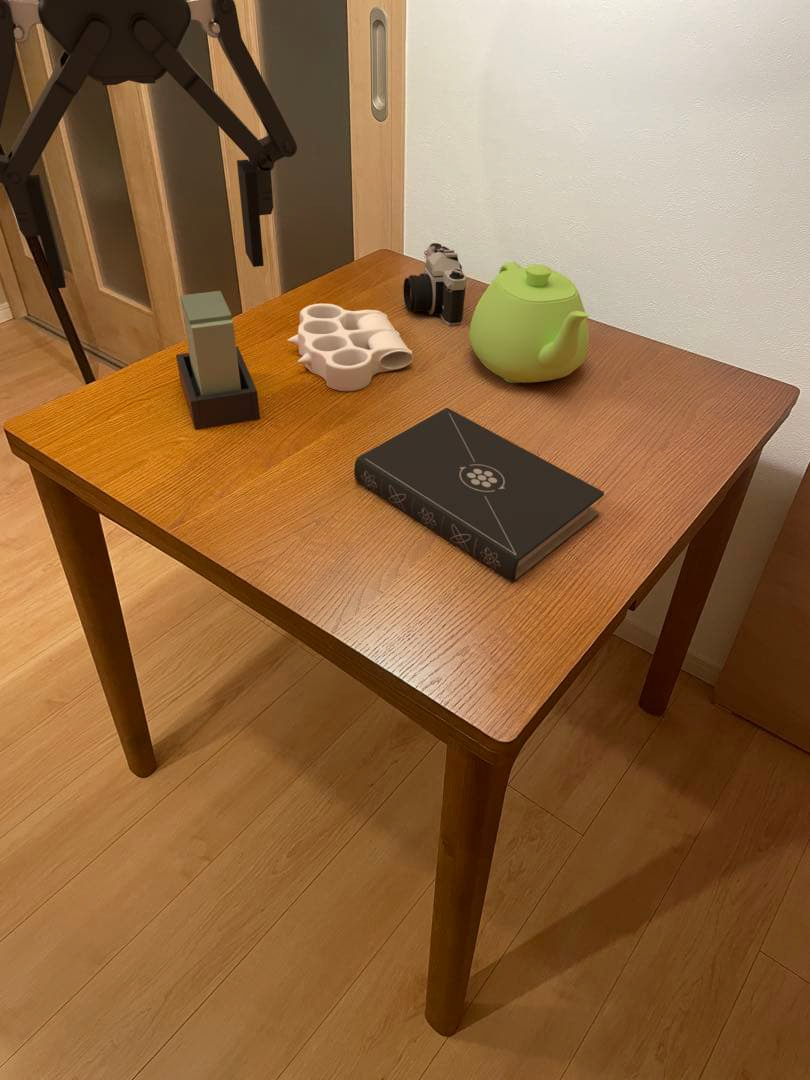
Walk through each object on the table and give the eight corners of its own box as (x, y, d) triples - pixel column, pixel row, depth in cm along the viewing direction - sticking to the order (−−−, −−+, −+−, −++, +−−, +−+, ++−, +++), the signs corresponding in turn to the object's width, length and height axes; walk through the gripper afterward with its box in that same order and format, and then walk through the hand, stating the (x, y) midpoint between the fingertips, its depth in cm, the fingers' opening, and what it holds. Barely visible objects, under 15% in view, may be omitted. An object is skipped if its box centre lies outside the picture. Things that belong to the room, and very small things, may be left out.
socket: (195, 429, 92) (190, 401, 90) (180, 381, 100) (175, 354, 97) (260, 418, 94) (257, 390, 92) (240, 372, 102) (237, 345, 99)
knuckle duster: (420, 381, 102) (308, 398, 98) (378, 318, 114) (277, 330, 111) (422, 358, 100) (307, 373, 96) (378, 296, 112) (276, 308, 108)
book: (353, 481, 86) (353, 459, 84) (445, 428, 94) (446, 406, 92) (511, 584, 75) (515, 561, 73) (599, 514, 83) (605, 492, 81)
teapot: (619, 403, 100) (644, 304, 91) (510, 420, 96) (525, 319, 87) (542, 323, 115) (557, 232, 106) (445, 335, 111) (452, 242, 102)
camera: (392, 290, 121) (394, 233, 115) (440, 285, 123) (445, 228, 117) (418, 336, 113) (422, 277, 106) (469, 329, 115) (476, 271, 108)
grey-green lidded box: (204, 414, 93) (190, 323, 85) (192, 380, 99) (178, 292, 91) (243, 408, 94) (233, 318, 87) (230, 375, 100) (219, 287, 92)
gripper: (-185, -117, 37) (-33, 314, 51) (338, -105, 44) (343, 271, 58) (-161, -127, 42) (-29, 267, 56) (302, -115, 49) (315, 232, 63)
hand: (160, 269), depth 57 cm, fingers open, 13 cm apart
